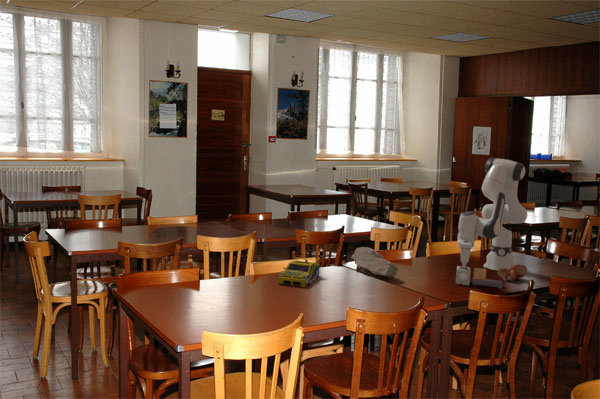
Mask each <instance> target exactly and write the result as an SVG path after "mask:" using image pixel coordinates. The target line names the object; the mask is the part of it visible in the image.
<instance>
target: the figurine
mask: <svg viewBox="0 0 600 399" xmlns="http://www.w3.org/2000/svg"><path fill="white" fill-rule="evenodd" d="M496 272H497V273H496V274H497V275H498V276H499V277H500V278H502V282H504V281H505V282H506V281H514V280H516V281H518V280H520V279H521V278H524V277H525V275H526V273H527V272H528V267H527V266H526V265H522V264H513V266H512V267H510V269H509V270H507V269H505V268H504V269H502V268H501V269H499V270H496Z"/></svg>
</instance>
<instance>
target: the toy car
mask: <svg viewBox="0 0 600 399" xmlns="http://www.w3.org/2000/svg"><path fill="white" fill-rule="evenodd" d="M293 259H300V260H291V261H290V262H288V264H287V266H286V267H283V270H282V271H280V273H279V275H278V277H277V282H278V283H277V284H279V285H287V286H288V285H289V286H294V287H295V286H296V287H301V288H302V287H303V288H306V287H308V285H310V284H311V283H312V282H314V281H315V280H316V279H317V278H318V277H319V275H320V266H321V265H320V264H321V263H319V262H320V261H321V258H320V257H319V258H318V259H316V258H315V259H313V258H311V259H310V258H306V257H305V258H304V257H296V255H293ZM301 260H303V261H301ZM312 261H313V262H312ZM314 261H317V262H314Z"/></svg>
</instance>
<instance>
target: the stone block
mask: <svg viewBox="0 0 600 399" xmlns="http://www.w3.org/2000/svg"><path fill="white" fill-rule="evenodd" d="M351 259H353V260H354V261H356V262H355V263H356V266H357V267H360V268H361V267H362V268H363V269H365V270H368V271H370V272H371V273H372V274H374V275H376V276H381V277H385V278H391V277H392V278H395V277H396V276H397V273H398V270H399V267H397V266H396V264H393V263H392V262H390V261H389V260H387V259H385V258H384V257H383V255H382V254H381V253H379V252H377V251H376V250H375V249H373V248H371V247H365V246H361V247H356V249H355V250H354V253H353V254H352V255H351ZM364 275H365V276H366V275H367V276H369V277H370V275H368V274H364Z"/></svg>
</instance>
